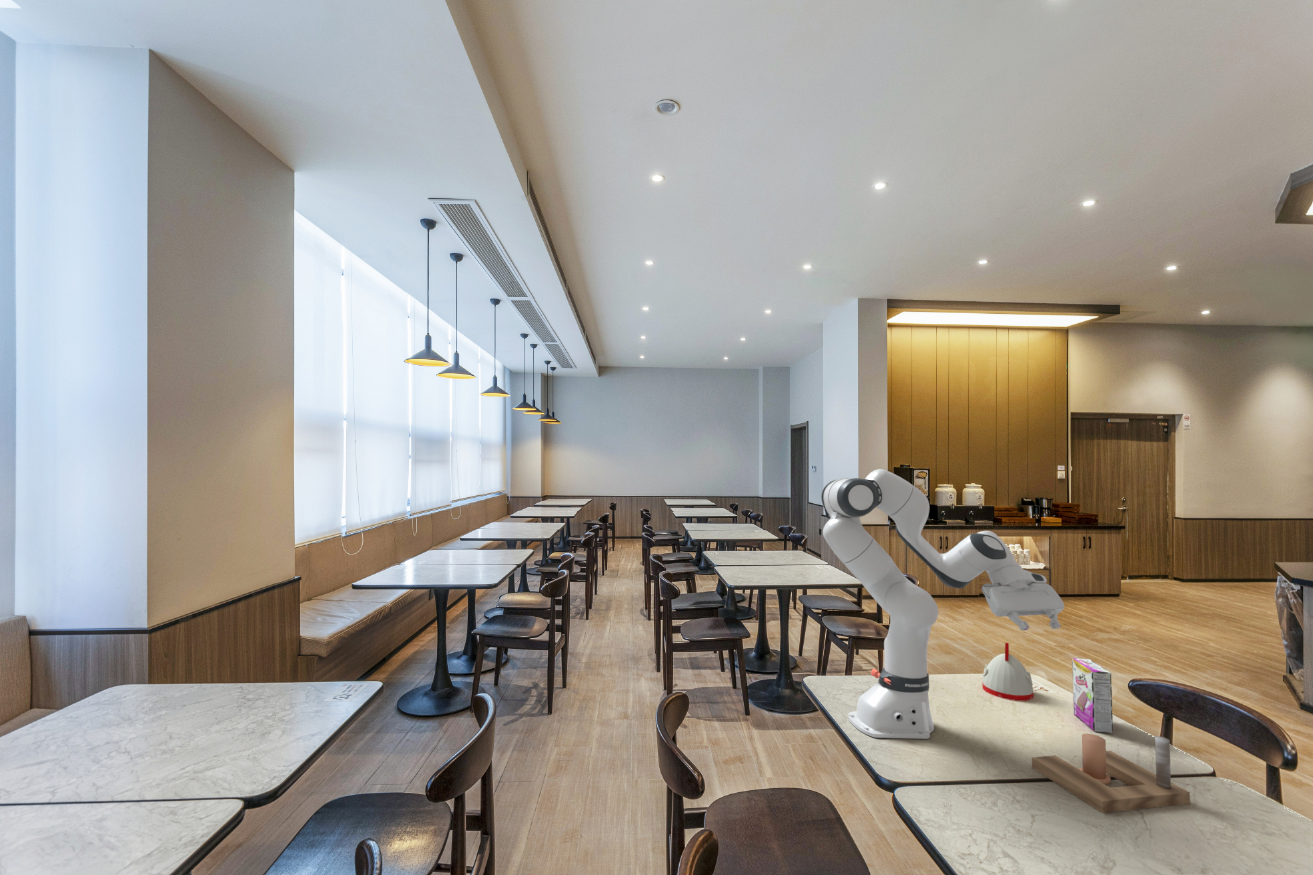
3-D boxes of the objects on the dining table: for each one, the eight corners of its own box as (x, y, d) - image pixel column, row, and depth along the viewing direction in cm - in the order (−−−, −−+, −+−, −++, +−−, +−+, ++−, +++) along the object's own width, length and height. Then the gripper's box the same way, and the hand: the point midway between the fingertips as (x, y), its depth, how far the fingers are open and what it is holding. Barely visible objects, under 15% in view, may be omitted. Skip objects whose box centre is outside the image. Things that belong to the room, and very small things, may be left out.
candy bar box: (1072, 714, 167) (1071, 657, 168) (1091, 716, 166) (1090, 658, 167) (1093, 732, 156) (1091, 670, 157) (1114, 734, 155) (1112, 672, 156)
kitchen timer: (1033, 689, 186) (1032, 642, 186) (1033, 704, 174) (1033, 654, 175) (983, 680, 193) (983, 635, 194) (981, 694, 182) (980, 645, 182)
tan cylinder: (1095, 785, 130) (1094, 745, 130) (1071, 771, 136) (1071, 732, 136) (1117, 783, 131) (1116, 743, 131) (1093, 769, 137) (1092, 731, 137)
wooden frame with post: (1102, 812, 120) (1100, 751, 120) (1032, 767, 137) (1031, 714, 138) (1190, 803, 123) (1188, 744, 124) (1110, 760, 141) (1109, 709, 142)
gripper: (984, 577, 157) (1013, 623, 147) (1049, 575, 161) (1081, 620, 151) (973, 590, 161) (1000, 636, 151) (1036, 588, 165) (1067, 633, 155)
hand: (1041, 628), depth 151 cm, fingers open, 8 cm apart
